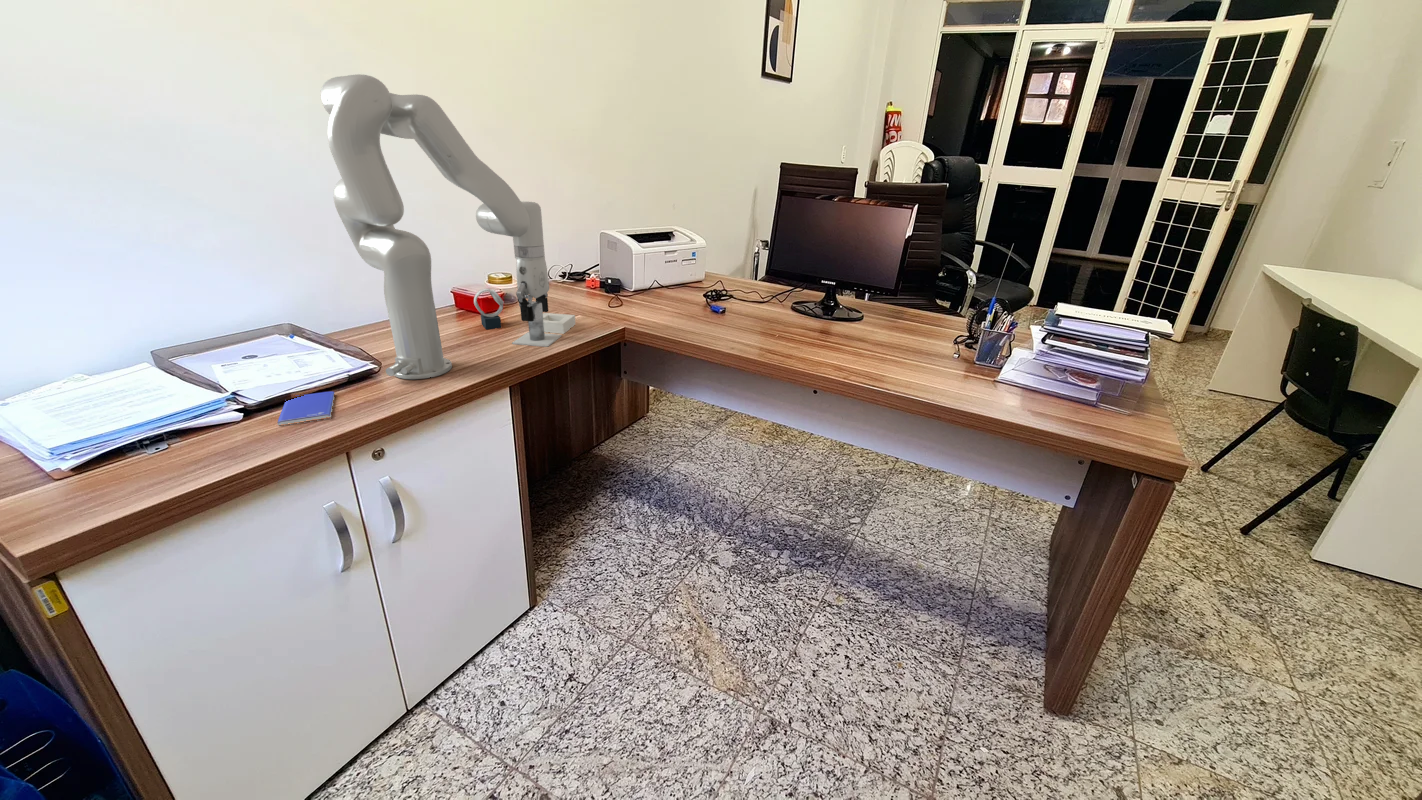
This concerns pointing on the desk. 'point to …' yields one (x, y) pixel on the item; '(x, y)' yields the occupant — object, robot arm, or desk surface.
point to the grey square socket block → (558, 322)
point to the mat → (545, 343)
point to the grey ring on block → (491, 319)
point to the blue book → (307, 408)
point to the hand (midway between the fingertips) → (535, 316)
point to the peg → (537, 322)
